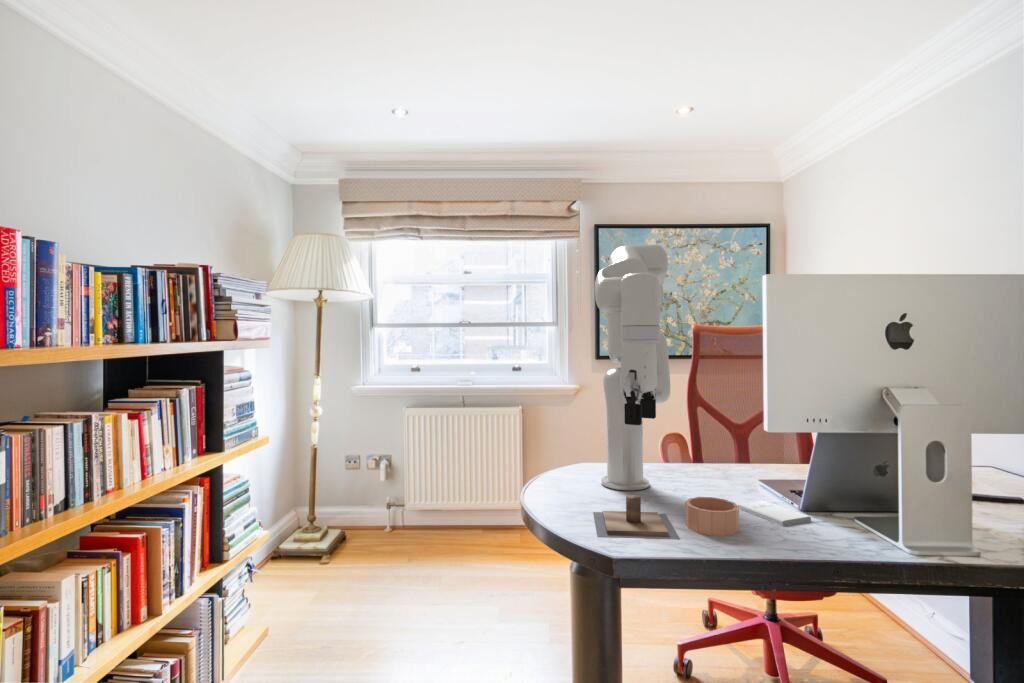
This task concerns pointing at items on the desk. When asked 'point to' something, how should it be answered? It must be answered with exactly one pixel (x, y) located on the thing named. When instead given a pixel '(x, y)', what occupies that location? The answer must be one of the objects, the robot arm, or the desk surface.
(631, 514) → the lid
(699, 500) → the bowl
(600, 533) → the mat
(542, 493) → the desk surface
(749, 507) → the external hard drive
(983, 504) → the desk surface
